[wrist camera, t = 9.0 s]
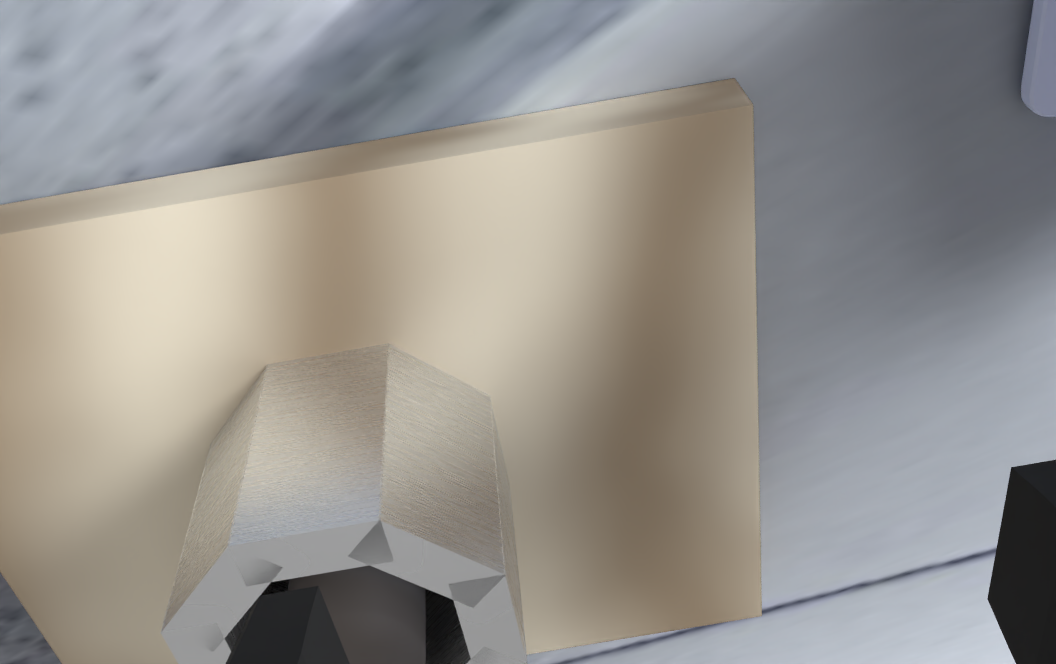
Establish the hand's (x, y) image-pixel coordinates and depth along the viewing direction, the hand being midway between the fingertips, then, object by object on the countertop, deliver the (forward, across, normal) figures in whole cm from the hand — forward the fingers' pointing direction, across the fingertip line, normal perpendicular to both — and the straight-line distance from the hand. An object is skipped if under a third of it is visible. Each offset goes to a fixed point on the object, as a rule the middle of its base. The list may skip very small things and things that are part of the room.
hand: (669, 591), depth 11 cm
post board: (+9, +5, +5) cm, 12 cm away
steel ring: (+8, +5, +5) cm, 11 cm away
